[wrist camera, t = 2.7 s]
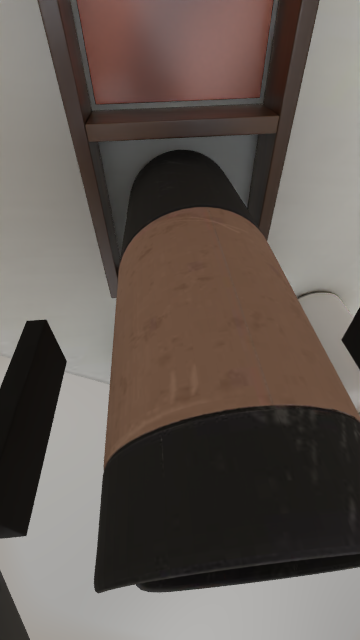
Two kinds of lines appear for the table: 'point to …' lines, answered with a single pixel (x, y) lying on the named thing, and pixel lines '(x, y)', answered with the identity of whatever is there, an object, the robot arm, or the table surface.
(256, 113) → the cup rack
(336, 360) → the can
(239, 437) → the travel mug
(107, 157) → the table surface
